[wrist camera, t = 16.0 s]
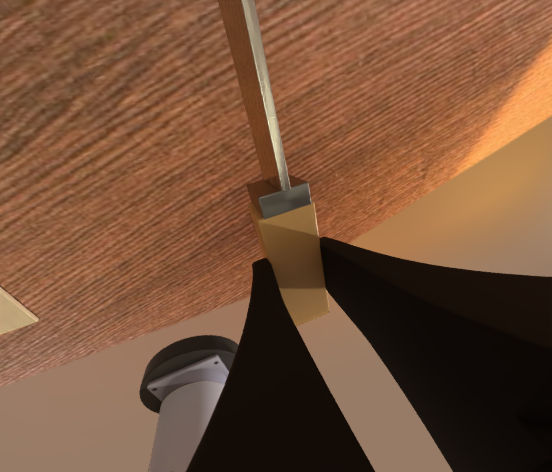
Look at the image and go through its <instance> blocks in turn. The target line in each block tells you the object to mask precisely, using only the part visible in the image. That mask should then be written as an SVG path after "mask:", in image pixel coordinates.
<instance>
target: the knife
mask: <svg viewBox="0 0 552 472" xmlns="http://www.w3.org/2000/svg"><path fill="white" fill-rule="evenodd" d="M218 3H219V6H220V10H221V14H222V18H223V22H224V26H225V30H226V34H227V38H228V42H229V46H230V50H231V54H232V58H233V62H234V65H235V69H236V73H237V77H238V81H239V85H240V89H241V93H242V97H243V101H244V105H245V109H246V113H247V117H248V120H249V124H250V128H251V132H252V136H253V140H254V144H255V148H256V152H257V156H258V160H259V164H260V168H261V172H262V176H263V179H264V180H261V181H257V182H254V183H251V184H247V188H248V192H249V195H250V198H251V202H252V203H249V204H248V207H249V211H250V214H251V217H252V220H253V223H254V227H255V230H256V233H257V236H258V239H259V243H260V246H261V249H262V252H263V255H264V258H267V259H268V261H269V262H270V263H271V265H272V268H273V271H274V274H275V277H276V280H277V283H278V286H279V289H280V292H281V295H282V298H283V301H284V303H285V306H286V308H287V310H288V312H289V314H290V316H291V318H292V320H293V322H294V324H295V326H296V327H297V326H299V325H301V324H304V323H306V322H308V321H311V320H313V319H315V318H318V317H320V316H322V315H325V314H327V313H329V304H328V298H327V290H326V286H325V279H324V272H323V265H322V258H321V251H320V240H319V233H318V226H317V219H316V212H315V204H314V201H312V200H311V195H310V189H309V183H308V182H307V181H304V180H302V179H299V178H296V177H294V176H291V175H289V174H288V172H287V166H286V161H285V156H284V151H283V146H282V141H281V135H280V130H279V125H278V120H277V115H276V109H275V104H274V99H273V94H272V89H271V84H270V78H269V73H268V68H267V63H266V58H265V52H264V47H263V42H262V37H261V32H260V27H259V21H258V16H257V11H256V6H255V1H254V0H218Z"/></svg>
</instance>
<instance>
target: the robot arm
mask: <svg viewBox="0 0 552 472" xmlns="http://www.w3.org/2000/svg"><path fill="white" fill-rule="evenodd" d="M319 240H320V251H321V258H322V265H323V272H324V279H325V286H326V289H327V291H328V293H329V294H330V295H331V296H332V297H333V298H334V300H335V301H336V302H337V303H338V305H339V306H340V307H341V308H342V309H343V311H344V312H345V313H346V314H347V315H348V317H349V318H350V319H351V320H352V321H353V323H354V324H355V325H356V326H357V327H358V329H359V330H360V331H361V332H362V333H363V335H364V336H365V337H366V339H367V340H368V341H369V343H370V344H371V345H372V347H373V348H374V350H375V351H376V353H377V354H378V355H379V357H380V358H381V359H382V361H383V363H384V364H385V365H386V367H387V368H388V370H389V371H390V373H391V374H392V376H393V377H394V379H395V380H396V382H397V383H398V385H399V386H400V388H401V389H402V391H403V392H404V394H405V396H406V397H407V399H408V400H409V402H410V403H411V405H412V406H413V408H414V410H415V411H416V412H417V414H418V416H419V417H420V419H421V420H422V422H423V424H424V425H425V427H426V428H427V430H428V431H429V433H430V435H431V436H432V438H433V440H434V441H435V443H436V445H437V446H438V448H439V449H440V451H441V453H442V454H443V456H444V458H445V459H446V461H447V462H448V464H449V465H450V467H451V469H452V471H453V472H552V277H542V276H541V277H540V276H528V275H514V274H502V273H491V272H482V271H473V270H465V269H457V268H449V267H443V266H436V265H430V264H425V263H420V262H415V261H409V260H405V259H400V258H396V257H392V256H388V255H384V254H380V253H377V252H373V251H370V250H366V249H363V248H360V247H356V246H353V245H350V244H347V243H344V242H341V241H338V240H334V239H331V238H327V237H322V238H319ZM252 267H253V281H252V290H251V298H250V303H249V308H248V313H247V318H246V322H245V326H244V329H243V334H242V336H241V340H240V343H239V346H238V349H237V352H236V355H235V358H234V361H233V364H232V367H231V369H230V372H229V371H228V370H227V368H226V366H225V365H224V363H223V362H222V360H221V359H220V357H219V356H218V355H212V356H210V357H207V358H205V359H203V360H200V361H198V362H196V363H193V364H191V365H189V366H186V367H184V368H182V369H179V370H177V371H175V372H172V373H170V374H168V375H165V376H163V377H161V378H158V379H156V380H154V381H151V382H150V383H148V386H147V389H148V390H149V391H150V392H151V393H153V394H154V395H155V396H156V397H157V398H158V399H159V400H160V401H161V402H162V403H161V408H160V413H159V418H158V423H157V429H156V433H155V439H154V444H153V449H152V454H151V459H150V464H149V469H148V472H375V471H374V469H373V467H372V465H371V464H370V462H369V460H368V458H367V456H366V455H365V453H364V451H363V449H362V448H361V446H360V444H359V442H358V441H357V439H356V437H355V435H354V433H353V432H352V430H351V428H350V426H349V425H348V423H347V421H346V419H345V417H344V415H343V414H342V412H341V410H340V408H339V406H338V405H337V403H336V401H335V399H334V397H333V396H332V394H331V392H330V390H329V388H328V387H327V385H326V383H325V381H324V379H323V377H322V375H321V374H320V372H319V370H318V368H317V366H316V364H315V362H314V360H313V358H312V357H311V355H310V353H309V351H308V349H307V347H306V345H305V343H304V341H303V339H302V337H301V336H300V334H299V332H298V330H297V328H296V326H295V324H294V322H293V320H292V318H291V316H290V314H289V312H288V310H287V308H286V306H285V303H284V301H283V298H282V295H281V292H280V289H279V286H278V283H277V280H276V277H275V274H274V271H273V268H272V265H271V263H270V262H269V261H268V259H267V258H264V259H261V260H258V261H256V262H254V263H253V264H252Z"/></svg>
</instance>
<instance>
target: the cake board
mask: <svg viewBox="0 0 552 472" xmlns="http://www.w3.org/2000/svg"><path fill="white" fill-rule="evenodd" d="M38 320H39V318H37V317H36V316H35V315H34V314H33V313H31V312H30V311H29V310H28V309H26V308H25V307H24V306H23V305H22V304H20V303H19V302H18V301H17V300H16V299H14V298H13V297H12V296H11V295H9V294H8V293H7V292H6V291H5V290H3V289H2V288H1V287H0V335H1V334H3V333H6V332H9V331H12V330H15V329H18V328H20V327H23V326H26V325H29V324H32V323H35V322H37V321H38Z"/></svg>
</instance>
